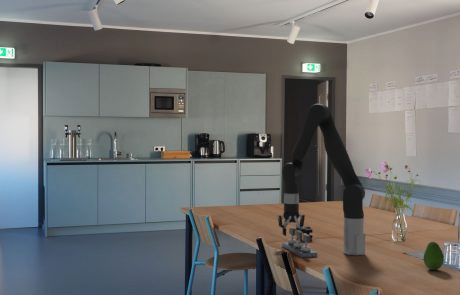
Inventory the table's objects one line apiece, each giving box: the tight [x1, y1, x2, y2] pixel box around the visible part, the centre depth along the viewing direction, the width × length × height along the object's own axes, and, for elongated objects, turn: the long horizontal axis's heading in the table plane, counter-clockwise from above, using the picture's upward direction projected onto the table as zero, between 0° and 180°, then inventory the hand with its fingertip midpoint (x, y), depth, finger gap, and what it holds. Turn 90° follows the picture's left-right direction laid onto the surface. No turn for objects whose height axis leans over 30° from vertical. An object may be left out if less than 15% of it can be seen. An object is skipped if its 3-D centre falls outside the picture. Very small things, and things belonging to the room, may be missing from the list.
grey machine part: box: [300, 226, 314, 242], centre depth 300 cm, size 10×7×7 cm
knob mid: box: [294, 230, 305, 248], centre depth 268 cm, size 6×4×8 cm
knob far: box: [287, 226, 298, 244], centre depth 277 cm, size 6×4×8 cm
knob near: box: [301, 234, 312, 251], centre depth 260 cm, size 6×4×8 cm
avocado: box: [423, 241, 445, 271], centre depth 233 cm, size 8×8×12 cm
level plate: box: [281, 241, 318, 259], centre depth 268 cm, size 26×8×3 cm, turn 14°
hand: (291, 235), depth 279 cm, fingers open, 6 cm apart
